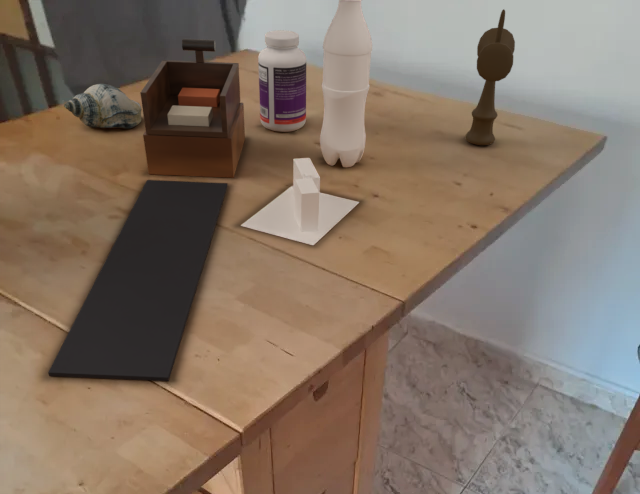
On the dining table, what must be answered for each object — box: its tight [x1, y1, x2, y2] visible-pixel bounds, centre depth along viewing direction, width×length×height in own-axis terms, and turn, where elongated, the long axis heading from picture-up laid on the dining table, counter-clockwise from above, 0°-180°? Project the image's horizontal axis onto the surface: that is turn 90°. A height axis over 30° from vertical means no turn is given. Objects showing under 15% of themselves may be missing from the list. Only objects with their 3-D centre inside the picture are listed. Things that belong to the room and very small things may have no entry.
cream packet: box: [167, 105, 213, 127], centre depth 102 cm, size 4×6×2 cm, turn 88°
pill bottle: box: [257, 29, 307, 133], centre depth 116 cm, size 8×8×14 cm
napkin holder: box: [240, 157, 360, 246], centre depth 94 cm, size 15×11×6 cm
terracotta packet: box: [178, 88, 220, 107], centre depth 108 cm, size 4×6×2 cm, turn 88°
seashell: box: [63, 83, 143, 130], centre depth 117 cm, size 6×8×12 cm
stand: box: [142, 102, 246, 178], centre depth 108 cm, size 16×13×6 cm
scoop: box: [139, 38, 241, 138], centre depth 103 cm, size 16×12×9 cm
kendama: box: [465, 8, 516, 146], centre depth 111 cm, size 6×10×20 cm, turn 168°
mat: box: [47, 179, 229, 382], centre depth 85 cm, size 46×12×1 cm, turn 178°
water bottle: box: [319, 0, 373, 168], centre depth 102 cm, size 7×7×25 cm
